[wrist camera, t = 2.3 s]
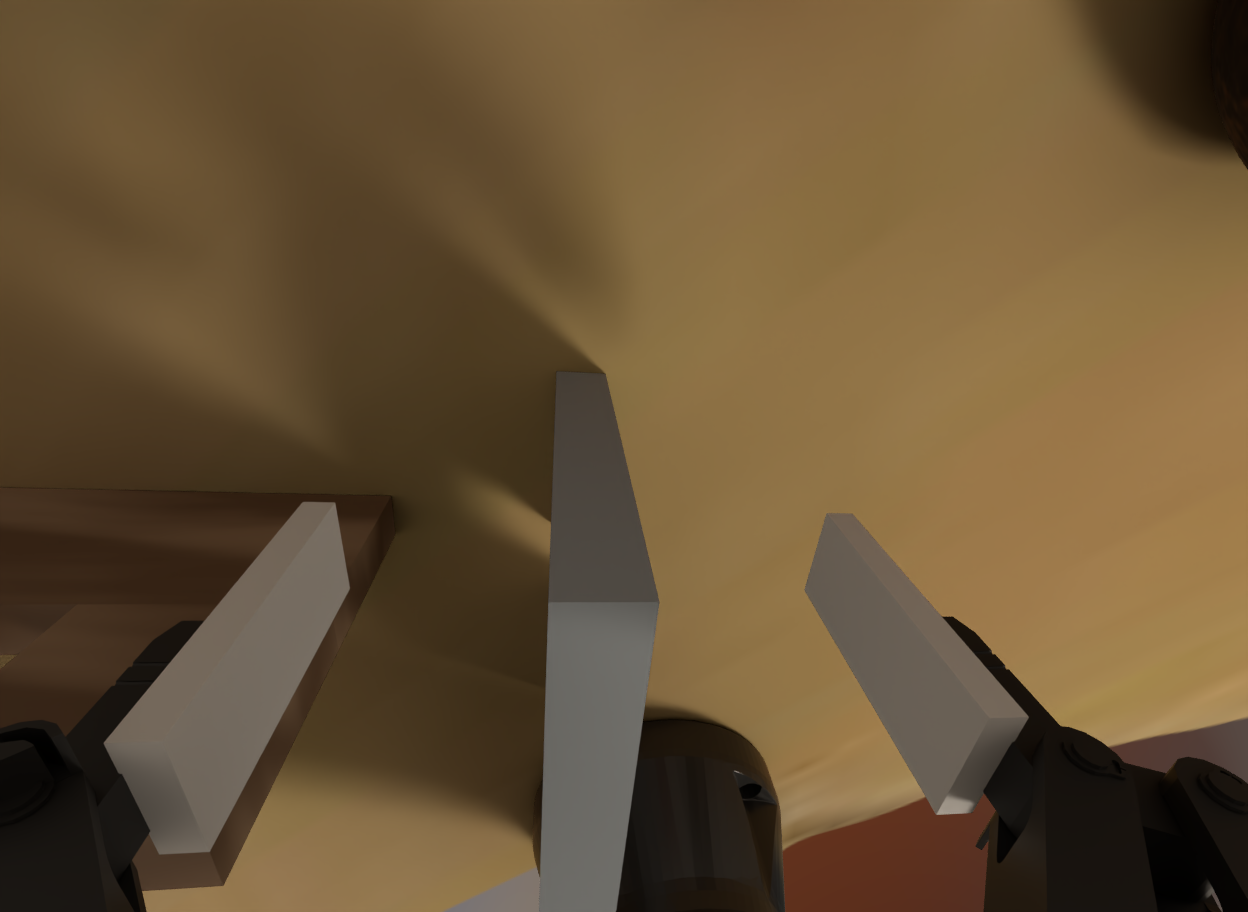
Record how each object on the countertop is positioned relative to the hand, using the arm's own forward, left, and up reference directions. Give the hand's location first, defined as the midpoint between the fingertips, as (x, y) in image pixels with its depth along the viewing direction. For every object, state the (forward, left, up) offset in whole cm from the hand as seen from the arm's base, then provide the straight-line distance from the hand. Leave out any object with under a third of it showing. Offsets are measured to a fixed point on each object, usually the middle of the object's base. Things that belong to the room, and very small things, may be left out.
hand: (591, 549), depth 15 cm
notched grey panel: (-7, 0, -9) cm, 12 cm away
